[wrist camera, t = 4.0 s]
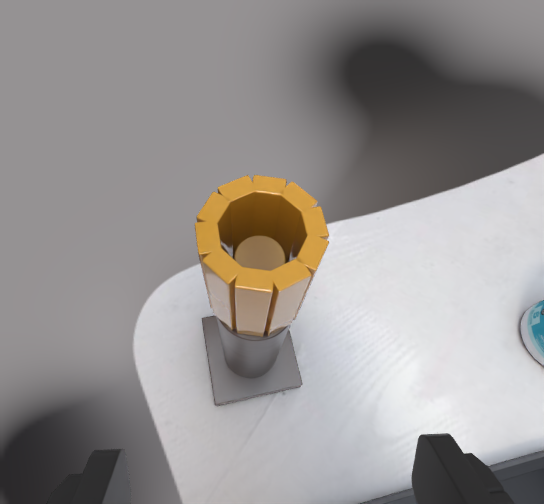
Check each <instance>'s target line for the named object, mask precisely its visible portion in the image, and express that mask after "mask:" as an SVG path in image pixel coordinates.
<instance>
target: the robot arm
mask: <svg viewBox="0 0 544 504" xmlns="http://www.w3.org/2000/svg"><path fill="white" fill-rule="evenodd" d="M412 487H413V492H414V496H415V499H416V501H417V504H515V503H514V501H513V500H512V499H511V497H510V496H509V494H508V493H507V492H505V491H504V487H503V486H502V485H501V483H500V482H499V480H498V479H497V478H496V476H495V475H494V473H493V472H492V471H491V469H490V468H489V467H487V466H486V465H485V464H484V463H483V462H481V461H480V460H479V459H478V458H477V457H476V456H474V455H473V454H472V453H466V454H464V453H463V452H462V450H461V449H460V447H459V446H458V444H457V443H456V441H455V440H454V439H453V437H452V436H451V435H450V434H447V433H445V434H426V435H420V436H419V438H418V443H417V449H416V454H415V460H414V466H413V471H412ZM46 504H131V488H130V481H129V473H128V466H127V458H126V452H125V450H124V449H111V450H94V451H93V452H92V454H91V456H90V457H89V460H88V462H87V464H86V467H85V469H84V471H83V474H71V475H68V476H67V477H66V478H65V479H64V480H63V482H62V483H61V484H60V485H59V486H58V487H57V488H56V489H55V490H54V491H53V492H52V493H51V495H50V497H49V499H48V501H47V503H46Z"/></svg>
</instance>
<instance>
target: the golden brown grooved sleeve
mask: <svg viewBox="0 0 544 504" xmlns="http://www.w3.org/2000/svg"><path fill="white" fill-rule="evenodd" d="M286 183H287V182H286V179H281V178H274V177H266V176H259V175H254V177H253V181H251V179H250V178H249V176H248V175H247V176H244V177H242V178H239V179H237V180H234V181H232V182H229V183H227V184H225V185H222V186H220V187H218V193H216V192H212V194H211V195H210V197H209V199H208V200H207V202H206V203H205V205H204V206H203V208H202V209H201V211H200V212H199V214H198V215H197V223H195V231H196V239H197V246H198V254H199V258H200V263H201V267H202V272H203V276H204V280H205V285H206V289H207V294H208V298H209V303H210V307H211V308H212V309H213V313H214V314H215V315H216V316H217V317H218V318H219V319H220V320H221V321H222V322H223V323H224V324H225V325H226V326H227V327H228V328H229V329H230V330H234V329H235V328H236V332H237V333H239V334H246V335H253V336H261V337H263V336H264V332H265V331H266V333H267V335H268V336H270V335H271V334H273V333H275V332H277V331H279V330H281V329H283V328H284V327H286V326H288V325H290V324H291V323H292V321H293V320H295V319H296V317H297V314H298V312H299V310H300V308H301V305H302V303H303V301H304V299H305V296H306V294H307V292H308V290H309V287H310V285H311V283H312V280H313V278H314V276H315V274H316V271H317V269H318V267H319V264H320V262H321V260H322V257H323V255H324V253H325V251H326V248H327V246H328V244H329V241H327V239H328V237H329V233H328V229H327V226H326V223H325V219H324V216H323V212H322V209H321V207H316V204H317V200H315V199H314V198H313V197H311V196H310V195H309V194H308V193H306V192H305V191H304V190H303V189H302V188H300V187H299V186H297V185H296V184H295V183H294V182H291V183H290V184H289V185H287V186H286ZM252 236H267V237H270V238H272V239H274V240H275V241H277V242H278V243H279V244H280V245H281V247H282V248H283V250H284V253H285V264H283V265H281V266H279V267H277V268H275V269H273V270H271V271H268V270H261V269H254V268H247V267H242V266H241V265H240V264H239V263H237V262H236V261H235V260H234V256H235V252H236V249H237V247H238V246H239V245H240V243H241V242H243V241H244V240H245V239H247V238H249V237H252Z"/></svg>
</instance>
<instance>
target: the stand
mask: <svg viewBox="0 0 544 504" xmlns="http://www.w3.org/2000/svg"><path fill="white" fill-rule="evenodd" d="M234 260H235V261H236V262H237V263H239V264H240V265H241V266H242V267H247V268H254V269H261V270H268V271H271V270H273V269H275V268H277V267H279V266H281V265H283V264H285V253H284V250H283V248H282V247H281V245H280V244H279V243H278V242H277V241H275V240H274V239H272V238H270V237H267V236H252V237H249V238H247V239H245V240H244V241H243V242H241V243H240V245H239V246H238V247H237V249H236V252H235V256H234ZM202 323H203V330H204V336H205V343H206V349H207V356H208V362H209V369H210V375H211V381H212V388H213V394H214V401H215V405H216V406H220V405H224V404H228V403H233V402H237V401H241V400H245V399H250V398H254V397H258V396H263V395H267V394H271V393H275V392H280V391H284V390H288V389H293V388H297V387H300V386H301V385H302V380H301V376H300V372H299V368H298V364H297V360H296V356H295V352H294V348H293V344H292V340H291V336H290V332H289V327H290V325H291V324H290V325H288V326H286V327H284V328H283V329H281V330H279V331H277V332H275V333H273V334H271V335H270V336H268V335H267V333H266V331H265V332H264V336H263V337H261V336H253V335H246V334H239V333H237V332H236V328H235V329H234V330H230V329H229V328H228V327H227V326H226V325H225V324H224V323H223V322H222V321H221V320H220V319H219V318H218V317H217V316H211V317H206V318H202Z"/></svg>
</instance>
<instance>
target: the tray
mask: <svg viewBox="0 0 544 504" xmlns="http://www.w3.org/2000/svg"><path fill="white" fill-rule="evenodd" d="M488 467H489V468H490V469H491V471H492V472H493V473H494V475H495V476H496V478H497V479H498V480H499V482H500V483H501V485H502V486H503V487H504V491H505V492H507V493H508V494H509V496H510V497H511V499H512V500H513V501H514V503H515V504H544V450H543V451H540V452H536V453H533V454H529V455H526V456H522V457H519V458H515V459H512V460H508V461H505V462H502V463H498V464H495V465H491V466H488ZM360 504H417V501H416V499H415V496H414V492H413V488H412V489H408V490H405V491H401V492H398V493H394V494H391V495H388V496H384V497H381V498H377V499H374V500H370V501H367V502H363V503H360Z"/></svg>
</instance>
